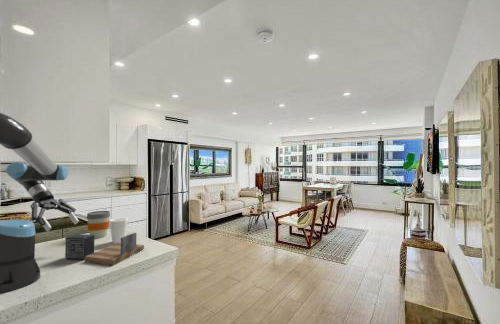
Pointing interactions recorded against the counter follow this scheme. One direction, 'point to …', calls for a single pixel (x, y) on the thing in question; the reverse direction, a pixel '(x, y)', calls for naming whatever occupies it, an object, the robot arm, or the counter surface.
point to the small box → (79, 246)
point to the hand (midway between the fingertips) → (63, 226)
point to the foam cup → (118, 229)
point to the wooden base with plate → (116, 251)
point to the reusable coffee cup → (98, 223)
